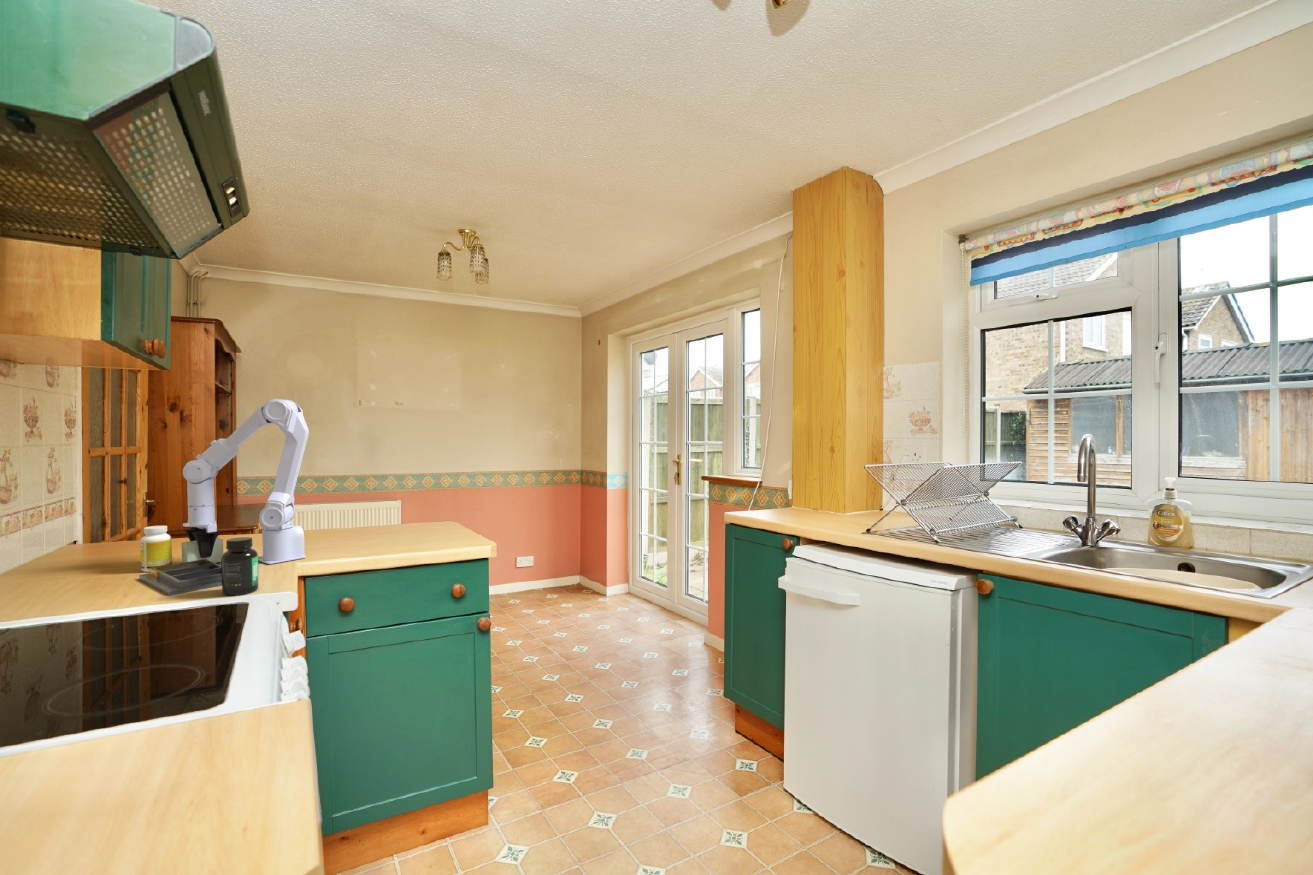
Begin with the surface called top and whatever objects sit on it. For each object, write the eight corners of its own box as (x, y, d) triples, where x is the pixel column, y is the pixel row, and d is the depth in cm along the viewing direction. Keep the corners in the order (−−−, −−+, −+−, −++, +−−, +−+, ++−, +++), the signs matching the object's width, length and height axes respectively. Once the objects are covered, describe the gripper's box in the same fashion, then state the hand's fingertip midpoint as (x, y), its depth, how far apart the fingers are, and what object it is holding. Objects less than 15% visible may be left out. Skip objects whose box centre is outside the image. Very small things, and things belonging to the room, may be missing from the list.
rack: (212, 566, 159) (212, 557, 159) (246, 580, 146) (246, 570, 146) (139, 579, 147) (138, 568, 147) (169, 595, 134) (169, 584, 134)
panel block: (217, 559, 166) (217, 537, 166) (223, 561, 164) (222, 539, 164) (182, 565, 160) (181, 542, 159) (187, 567, 157) (186, 544, 157)
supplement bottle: (264, 590, 139) (263, 537, 138) (232, 597, 133) (231, 543, 132) (248, 585, 142) (247, 534, 141) (215, 593, 136) (214, 540, 135)
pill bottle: (178, 566, 159) (177, 524, 159) (156, 572, 153) (155, 529, 152) (156, 566, 160) (155, 524, 159) (134, 572, 153) (133, 528, 153)
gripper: (173, 504, 162) (175, 554, 163) (193, 509, 154) (194, 562, 154) (204, 501, 168) (206, 550, 168) (225, 506, 159) (226, 557, 160)
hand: (202, 556), depth 162 cm, fingers closed on panel block, 4 cm apart
